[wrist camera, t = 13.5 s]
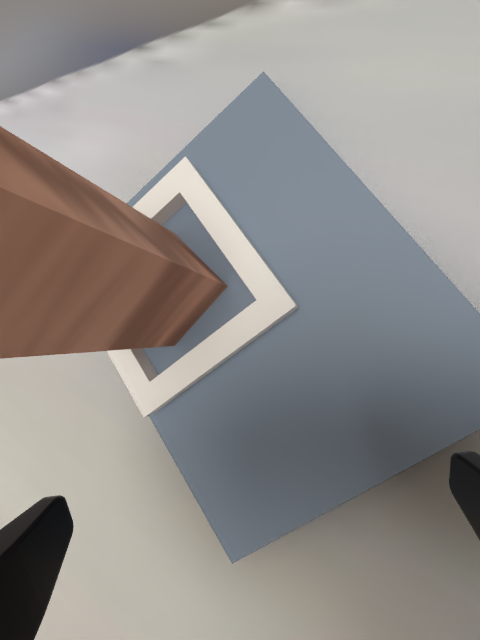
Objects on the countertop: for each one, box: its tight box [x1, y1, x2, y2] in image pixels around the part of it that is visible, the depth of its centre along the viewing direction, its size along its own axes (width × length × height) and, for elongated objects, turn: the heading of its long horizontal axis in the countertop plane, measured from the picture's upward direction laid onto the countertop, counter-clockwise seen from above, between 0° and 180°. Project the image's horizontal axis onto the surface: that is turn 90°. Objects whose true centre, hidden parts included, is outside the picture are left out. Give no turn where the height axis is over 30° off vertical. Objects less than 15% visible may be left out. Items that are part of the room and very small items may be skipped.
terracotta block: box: [0, 126, 228, 358], centre depth 13 cm, size 5×5×13 cm
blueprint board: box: [107, 72, 480, 563], centre depth 18 cm, size 22×18×2 cm
